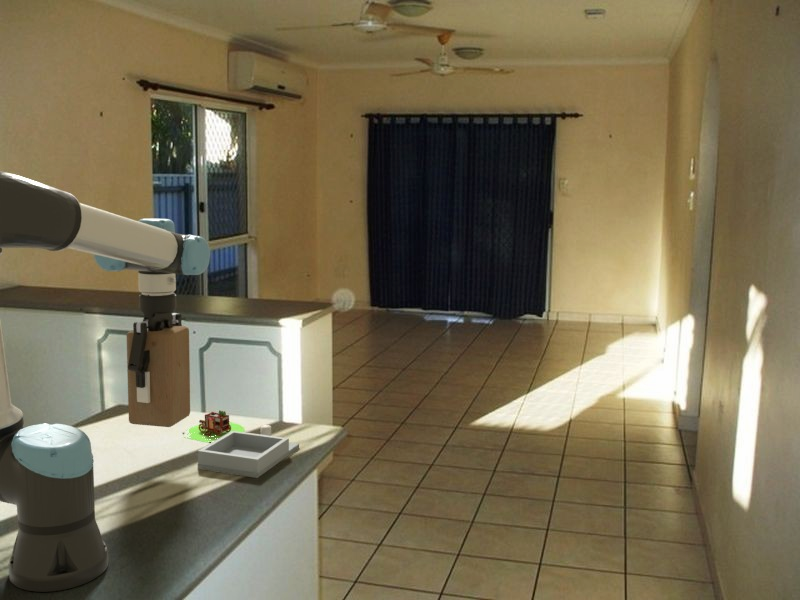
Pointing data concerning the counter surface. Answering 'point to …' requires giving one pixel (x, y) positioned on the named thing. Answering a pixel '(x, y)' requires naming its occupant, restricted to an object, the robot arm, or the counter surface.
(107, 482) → the counter surface
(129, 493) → the counter surface
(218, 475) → the counter surface
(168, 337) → the wooden block
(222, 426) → the wagon
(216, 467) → the open square tray
